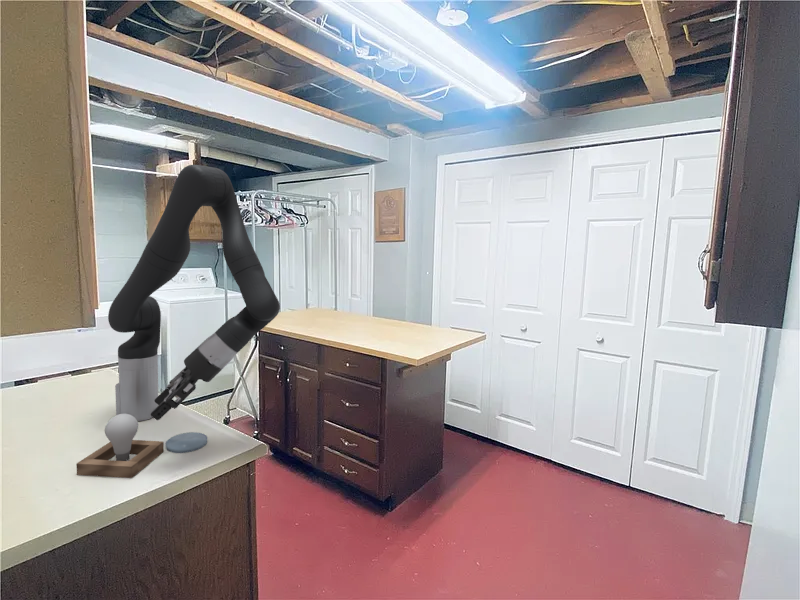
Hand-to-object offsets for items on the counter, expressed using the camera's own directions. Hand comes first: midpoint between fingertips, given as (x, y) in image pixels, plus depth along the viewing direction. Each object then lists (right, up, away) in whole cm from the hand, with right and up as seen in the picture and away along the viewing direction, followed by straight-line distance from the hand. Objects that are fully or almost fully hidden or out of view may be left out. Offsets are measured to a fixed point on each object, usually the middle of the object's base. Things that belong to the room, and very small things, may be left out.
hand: (155, 410), depth 95 cm
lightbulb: (-6, -11, -1) cm, 13 cm away
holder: (-6, -11, -1) cm, 13 cm away
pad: (+3, -10, +8) cm, 14 cm away
